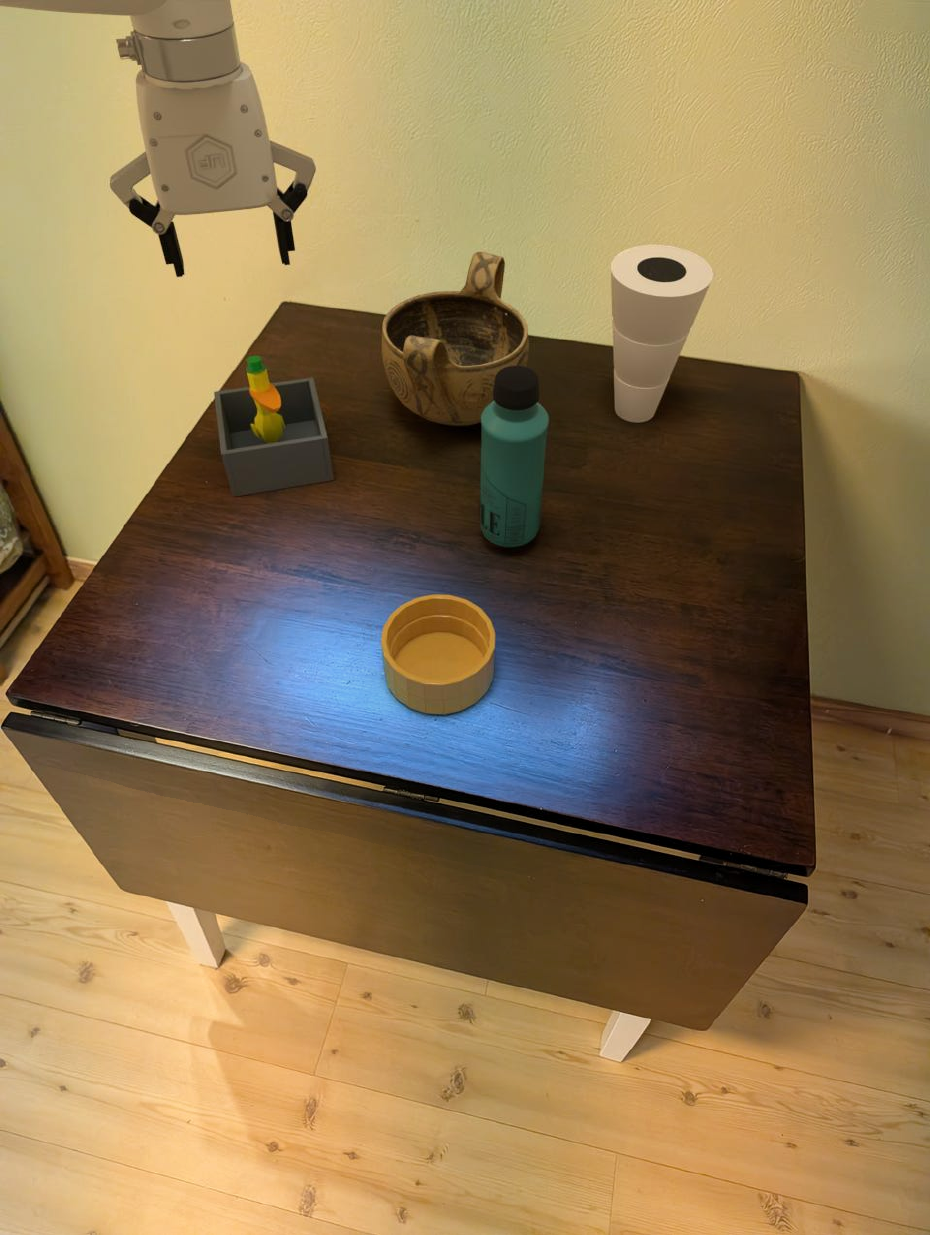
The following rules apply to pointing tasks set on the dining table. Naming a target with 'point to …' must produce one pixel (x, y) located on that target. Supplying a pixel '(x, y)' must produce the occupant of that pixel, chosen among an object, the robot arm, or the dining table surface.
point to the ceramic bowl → (454, 346)
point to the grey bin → (275, 463)
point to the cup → (652, 321)
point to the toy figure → (264, 402)
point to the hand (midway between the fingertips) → (233, 264)
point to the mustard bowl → (438, 653)
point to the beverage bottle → (512, 459)
